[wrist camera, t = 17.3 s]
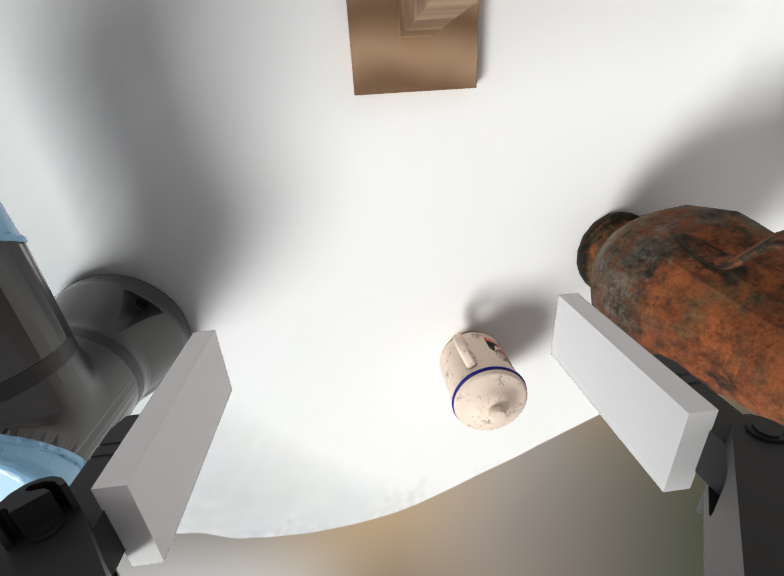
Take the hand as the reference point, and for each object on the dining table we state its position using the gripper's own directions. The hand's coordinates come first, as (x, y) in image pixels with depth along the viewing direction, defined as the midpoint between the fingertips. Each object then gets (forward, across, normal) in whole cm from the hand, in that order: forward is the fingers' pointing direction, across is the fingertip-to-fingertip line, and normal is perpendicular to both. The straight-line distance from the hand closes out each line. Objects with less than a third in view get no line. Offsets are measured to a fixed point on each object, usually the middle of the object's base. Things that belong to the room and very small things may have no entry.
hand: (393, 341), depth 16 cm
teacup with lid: (+32, -12, +23) cm, 41 cm away
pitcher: (+32, -30, +9) cm, 45 cm away
